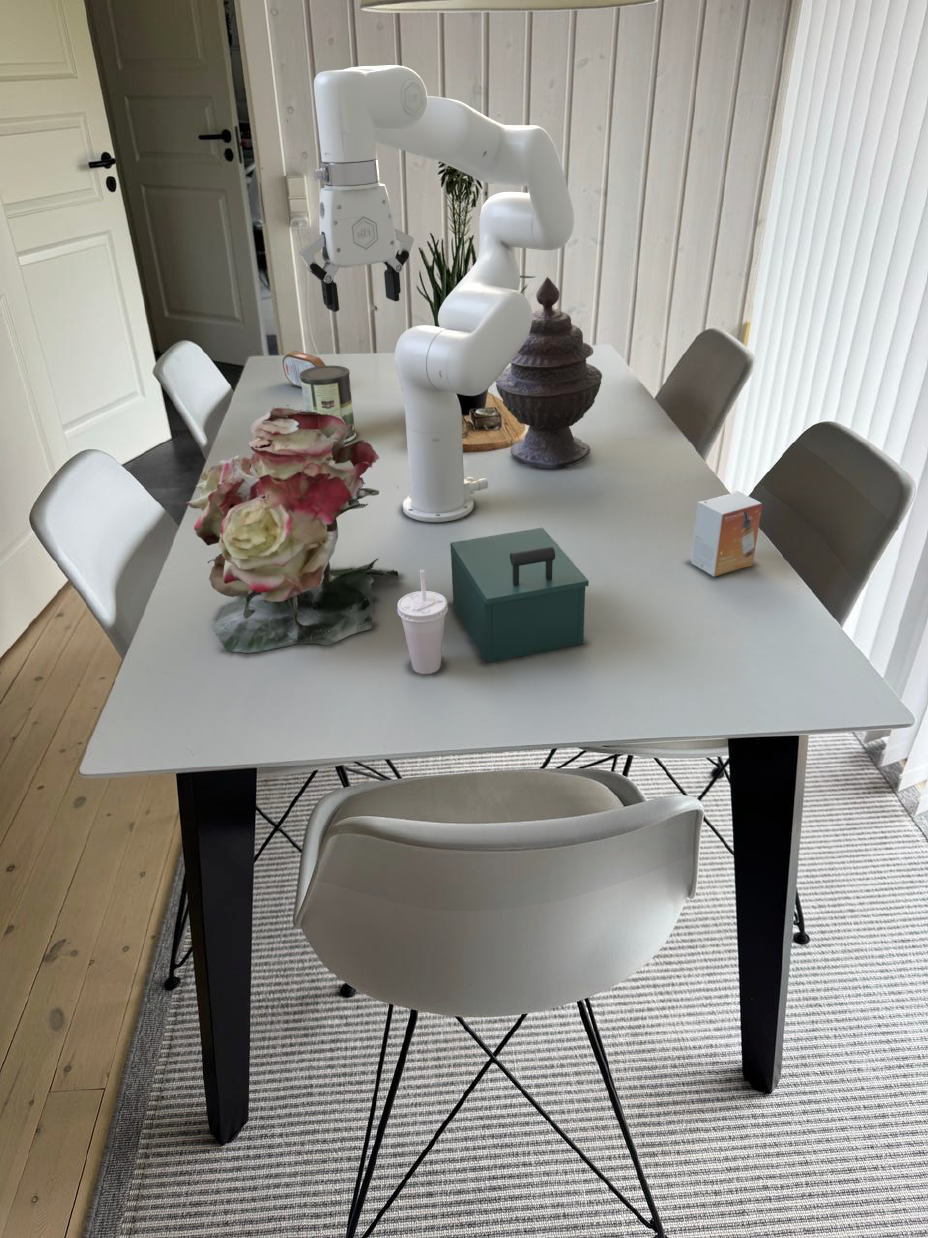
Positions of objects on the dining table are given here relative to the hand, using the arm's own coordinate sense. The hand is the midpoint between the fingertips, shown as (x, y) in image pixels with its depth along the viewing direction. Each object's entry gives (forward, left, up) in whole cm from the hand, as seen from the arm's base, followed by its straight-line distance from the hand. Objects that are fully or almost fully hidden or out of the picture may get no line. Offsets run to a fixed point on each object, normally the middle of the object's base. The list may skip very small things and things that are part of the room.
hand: (363, 304), depth 132 cm
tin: (-23, -85, -38) cm, 96 cm away
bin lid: (-2, +36, -28) cm, 46 cm away
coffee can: (-13, -49, -38) cm, 64 cm away
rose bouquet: (+22, +14, -38) cm, 46 cm away
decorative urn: (-43, -12, -38) cm, 59 cm away
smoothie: (+13, +38, -38) cm, 55 cm away
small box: (-38, +40, -38) cm, 67 cm away
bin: (-2, +36, -38) cm, 52 cm away
